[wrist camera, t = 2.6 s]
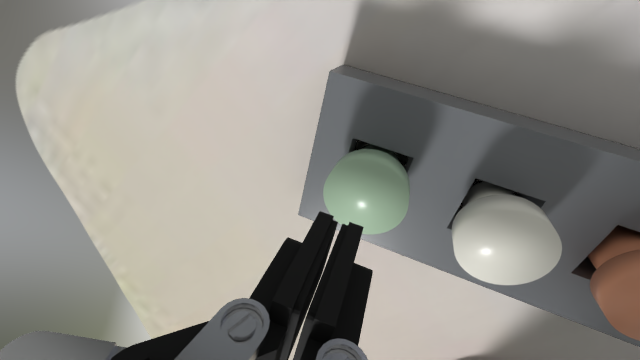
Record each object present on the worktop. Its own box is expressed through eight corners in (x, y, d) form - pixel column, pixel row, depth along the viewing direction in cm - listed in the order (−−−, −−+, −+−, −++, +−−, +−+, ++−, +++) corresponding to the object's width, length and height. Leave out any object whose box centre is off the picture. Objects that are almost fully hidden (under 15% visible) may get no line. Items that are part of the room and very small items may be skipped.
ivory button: (548, 184, 16) (585, 232, 12) (506, 241, 18) (526, 297, 15) (468, 158, 17) (480, 197, 13) (436, 217, 19) (439, 264, 15)
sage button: (423, 144, 17) (423, 178, 14) (398, 203, 20) (391, 245, 16) (353, 122, 18) (334, 147, 14) (336, 181, 20) (315, 216, 16)
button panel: (760, 183, 14) (830, 217, 12) (613, 306, 20) (641, 347, 17) (343, 64, 18) (329, 70, 16) (312, 194, 23) (298, 214, 21)
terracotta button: (693, 230, 15) (782, 299, 11) (628, 285, 17) (684, 358, 13) (599, 200, 16) (654, 256, 12) (549, 257, 18) (582, 319, 14)
